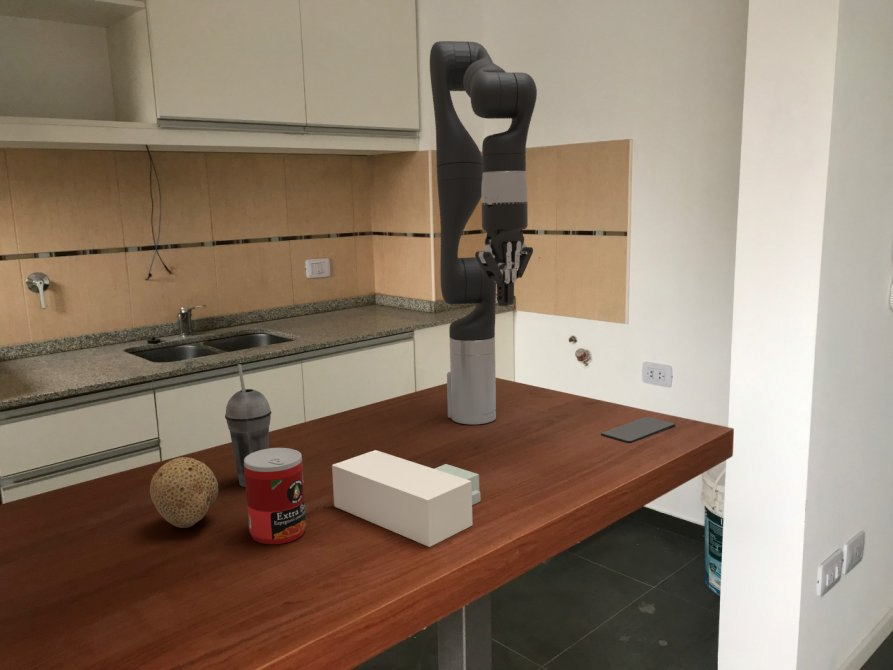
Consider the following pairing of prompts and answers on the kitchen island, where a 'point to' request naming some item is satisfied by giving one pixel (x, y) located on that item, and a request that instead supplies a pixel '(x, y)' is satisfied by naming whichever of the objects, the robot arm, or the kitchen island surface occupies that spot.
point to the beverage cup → (247, 424)
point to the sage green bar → (461, 474)
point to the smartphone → (638, 429)
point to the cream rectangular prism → (404, 496)
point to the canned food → (275, 495)
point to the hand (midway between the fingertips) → (505, 305)
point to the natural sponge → (183, 491)
